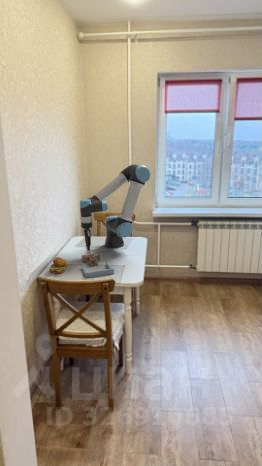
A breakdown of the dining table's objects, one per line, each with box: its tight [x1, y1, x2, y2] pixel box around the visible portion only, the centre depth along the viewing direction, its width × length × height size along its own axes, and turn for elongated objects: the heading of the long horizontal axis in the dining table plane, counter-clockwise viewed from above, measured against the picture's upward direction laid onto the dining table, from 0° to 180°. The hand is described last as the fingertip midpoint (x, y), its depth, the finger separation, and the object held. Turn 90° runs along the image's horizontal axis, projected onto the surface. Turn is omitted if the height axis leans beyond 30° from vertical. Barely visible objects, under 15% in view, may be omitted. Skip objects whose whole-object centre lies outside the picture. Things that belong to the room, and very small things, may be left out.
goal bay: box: [81, 261, 115, 278], centre depth 203 cm, size 17×15×3 cm
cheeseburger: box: [48, 256, 68, 274], centre depth 205 cm, size 10×11×10 cm
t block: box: [81, 252, 101, 267], centre depth 218 cm, size 12×12×4 cm
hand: (88, 254), depth 229 cm, fingers closed
